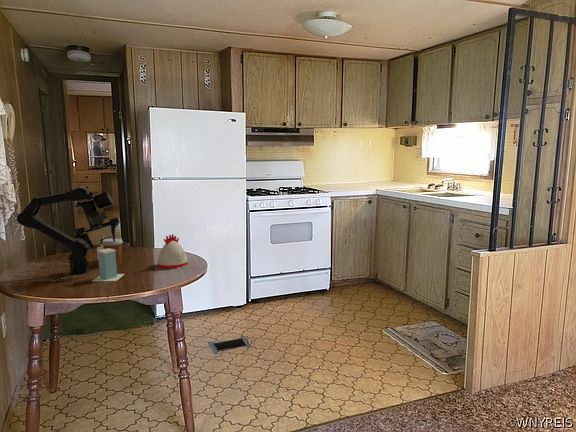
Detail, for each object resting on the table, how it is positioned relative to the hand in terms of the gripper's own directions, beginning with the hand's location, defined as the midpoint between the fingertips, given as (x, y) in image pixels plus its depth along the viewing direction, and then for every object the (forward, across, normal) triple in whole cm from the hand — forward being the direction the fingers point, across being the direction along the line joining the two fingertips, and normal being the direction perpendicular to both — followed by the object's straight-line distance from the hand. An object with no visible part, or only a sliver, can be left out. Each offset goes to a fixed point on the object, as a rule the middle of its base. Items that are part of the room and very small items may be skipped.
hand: (104, 245), depth 187 cm
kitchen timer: (+19, +26, +4) cm, 33 cm away
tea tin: (+14, -4, -1) cm, 15 cm away
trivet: (+15, -4, -1) cm, 15 cm away
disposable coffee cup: (+6, +5, +22) cm, 23 cm away
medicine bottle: (+3, +4, +29) cm, 29 cm away
